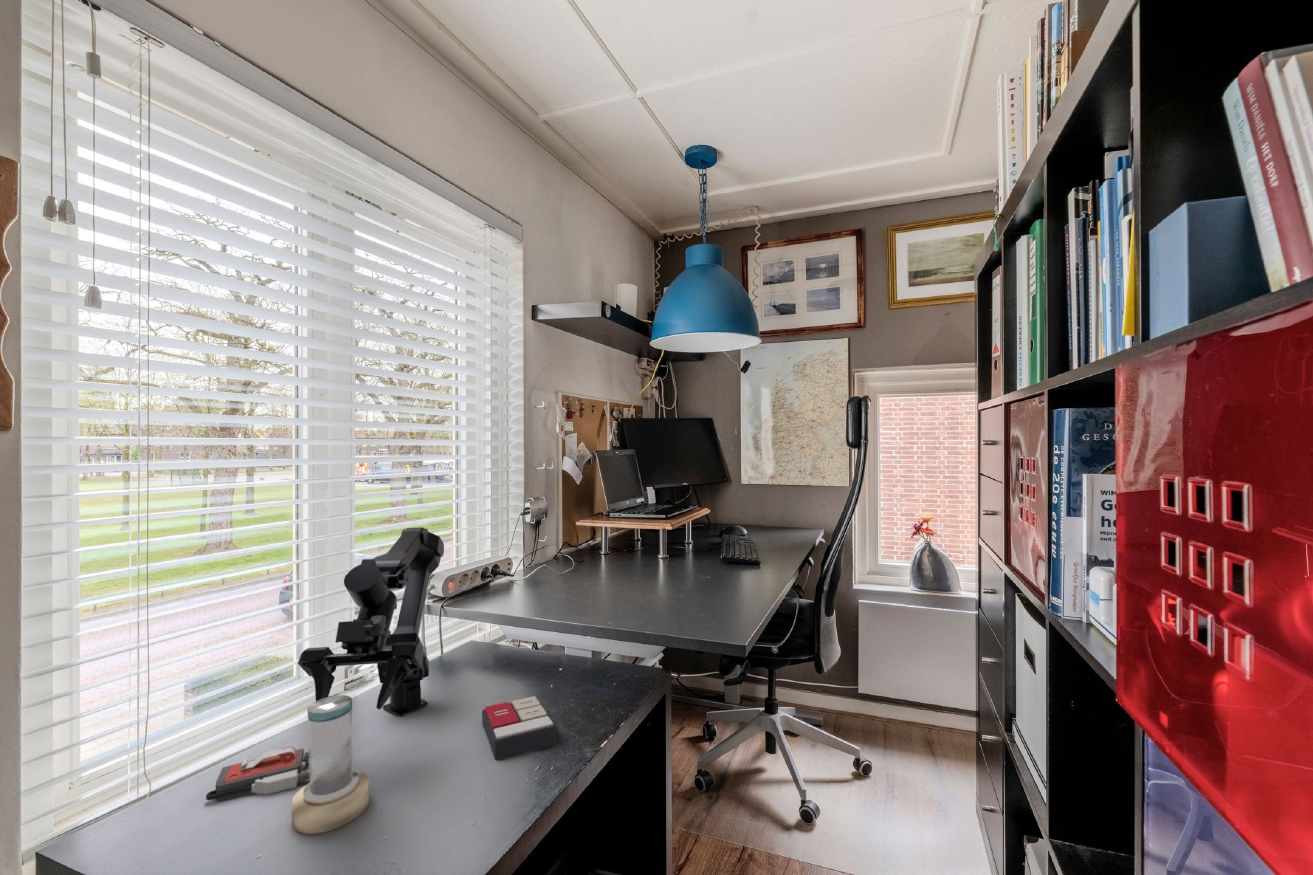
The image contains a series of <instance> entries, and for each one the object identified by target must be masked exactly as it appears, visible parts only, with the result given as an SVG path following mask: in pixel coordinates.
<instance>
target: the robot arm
mask: <svg viewBox="0 0 1313 875" xmlns="http://www.w3.org/2000/svg"><path fill="white" fill-rule="evenodd" d="M400 534H401V535H400V537H398V539H397V540H396V542H394V544H393V545H392V546H391V547H390V549H389V550H388V551H387V553H383V554H380V555H377V556H375V557H373V558H364V559H362V560H361V563H360V564H359V565H357V566H354V567H353V568H351V569H350V570H349V571H348V572H347V574H345V575H344V578H343V585H344V588H345V589H346V590H347V592H348V593H349V596H350V597H351V598H352V600H353V602H354V603H355V604H354V605H356V606H358V607H359V611H358V614H357V618H354V619H352V620H350V621H349V620H347V621H339V622H338V625H337V631H336V635H335V636H336V637H335V643H341V645H340V647H341V648H342V650H346V653H335V654H334V652H333V651H332V649H331V648H330V647H329V646H322V647H321V646H320V647H318V646H317V647H307V648H306V649H304V650H303V651H302V652H300V656H299V658H298V661H297V664H298V666H300V668H301V669H302V670H303V671H304V672H305V673H306V675H308V676H309V677H312V679H313V681H314V690H315V692H314V693H315V696H314V697H315V702H316V701H318V700H320V699H323V698H326V697H329V695H330V693H331V689H332V686H333V684H334V681H335V676H334V675H333V673H335V672H336V670H337V667H342V666H343V667H344V666H345V667H346V666H358V665H360V666H361V665H371V664H372V665H373V664H376V666H377V673H378V680H379V683H380V684H382V685H381V688H380V691H379V694H378V697H377V700H376V709H377V710H385V711H387V712H389V713H391V714H393V715H395V716H398V717H402V716H404V715H406V714H408V713H410V712H412V711H413V712H414V711H415V710H417V709H419V708H422V707H424V706H426V705H428V701H427V700H425V699H423V698H422V687H421V681H423V680H424V679H425V678H427V677H429V676H430V660H429V658H428V657H427V654H426V652H425V650H424V649H425V648H424V645H423V643H422V641H421V638H420V636H419V635H420V634H419V633H420V627H421V623H422V618H423V612H424V608H425V601H426V598H427V591H428V587H429V582H430V577H431V575H432V574H433V573H434V572H435V571H436V569H438V567H439V566H440V563H441V558H442V557H443V556H444V554H445V543H444V542H443V540H442V538H441V537H440V535H437V534H435V533H433V532H430V531H429V530H428V528H426V527H425V528H424V527H423V526H422V527H407V528H404V529H402V531H401V533H400ZM404 587H405V588H404ZM399 589H404V592H403V597H402V601H401V606H400V610H399V614H398V618H397V622H396V628H395V630H394V631H393V632H391V630H390V627H391V624H392V620H393V616H394V613H395V610H396V609H397V607H398V603H397V601H398V598H397V596H396V594H395V593H394V592H393V591H392V590H399ZM388 700H389V703H388V704H386V703H387V701H388Z"/></svg>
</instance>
